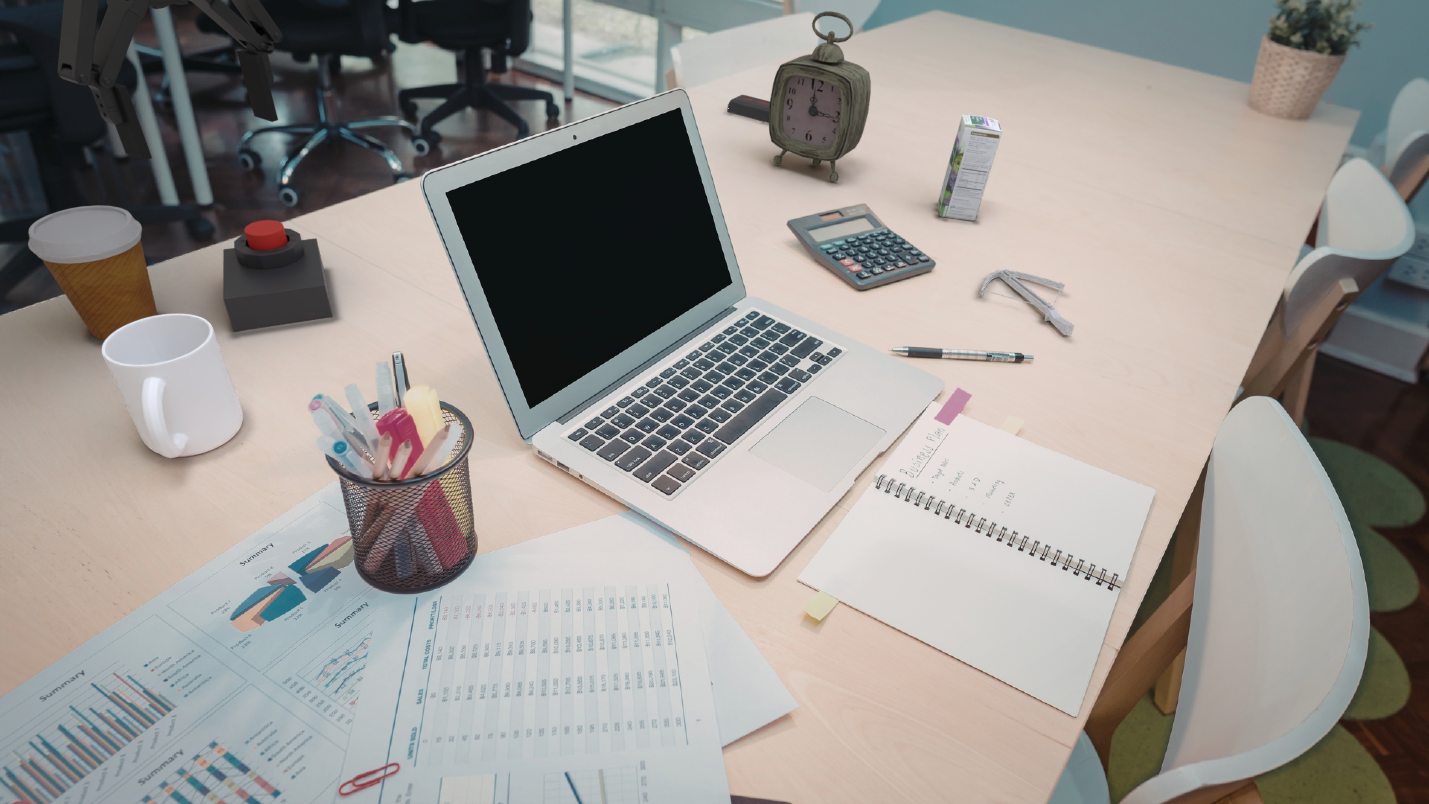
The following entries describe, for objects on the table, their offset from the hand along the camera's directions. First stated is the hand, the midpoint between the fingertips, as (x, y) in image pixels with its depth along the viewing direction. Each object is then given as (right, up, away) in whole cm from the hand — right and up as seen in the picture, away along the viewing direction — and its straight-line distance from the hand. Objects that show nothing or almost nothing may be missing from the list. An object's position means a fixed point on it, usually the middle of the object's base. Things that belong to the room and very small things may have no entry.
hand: (206, 136), depth 80 cm
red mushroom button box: (0, -14, +15) cm, 20 cm away
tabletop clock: (+67, +14, +59) cm, 91 cm away
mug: (+2, -30, -6) cm, 31 cm away
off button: (-1, -8, +13) cm, 16 cm away
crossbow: (+92, -14, +27) cm, 97 cm away
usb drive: (+59, +30, +80) cm, 104 cm away
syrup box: (+89, +4, +49) cm, 102 cm away
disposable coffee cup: (-14, -18, +8) cm, 24 cm away
